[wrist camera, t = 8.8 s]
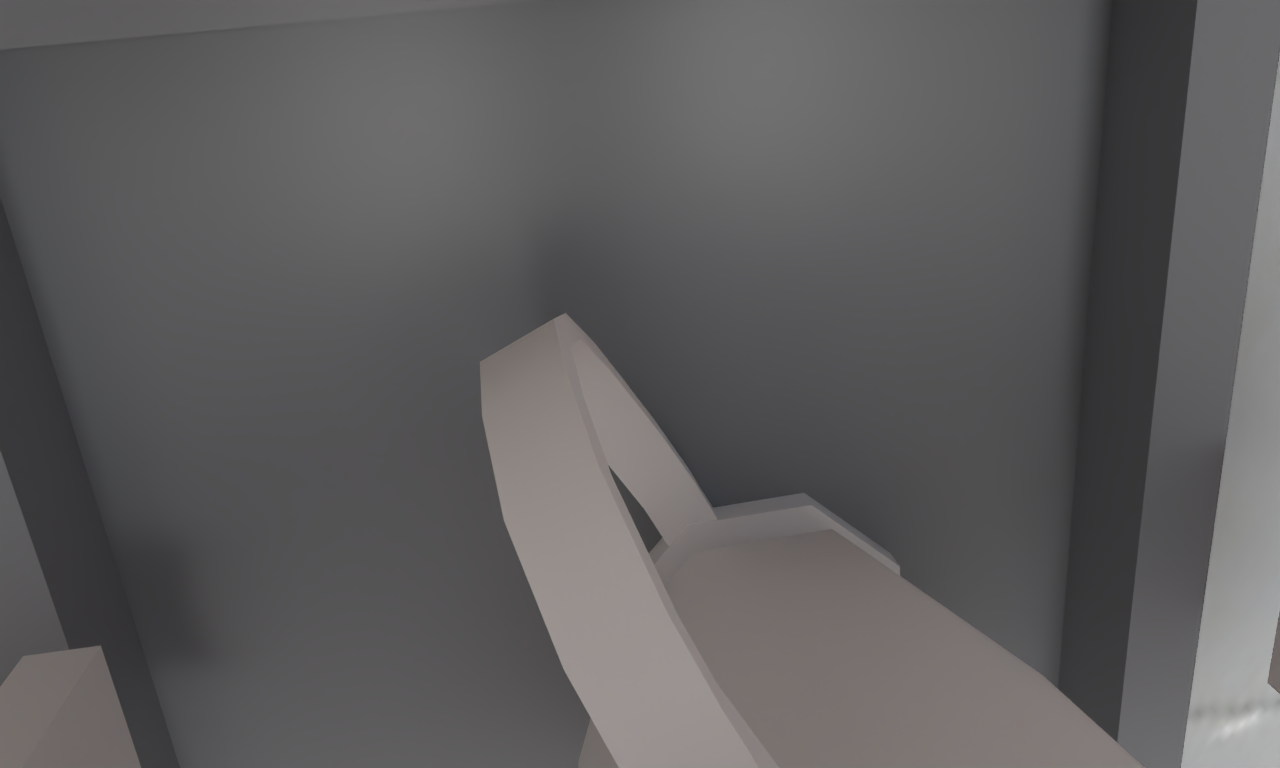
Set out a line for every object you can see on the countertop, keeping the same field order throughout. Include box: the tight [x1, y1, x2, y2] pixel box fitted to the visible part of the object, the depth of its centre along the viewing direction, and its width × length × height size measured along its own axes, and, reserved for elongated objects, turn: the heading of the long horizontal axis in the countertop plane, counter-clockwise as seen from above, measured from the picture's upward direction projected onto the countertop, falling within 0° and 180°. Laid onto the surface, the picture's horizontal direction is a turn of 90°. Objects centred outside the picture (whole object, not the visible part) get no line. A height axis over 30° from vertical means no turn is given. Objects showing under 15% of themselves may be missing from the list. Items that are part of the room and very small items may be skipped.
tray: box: [0, 0, 1280, 768], centre depth 14 cm, size 20×15×2 cm
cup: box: [480, 313, 1145, 768], centre depth 10 cm, size 7×10×8 cm
